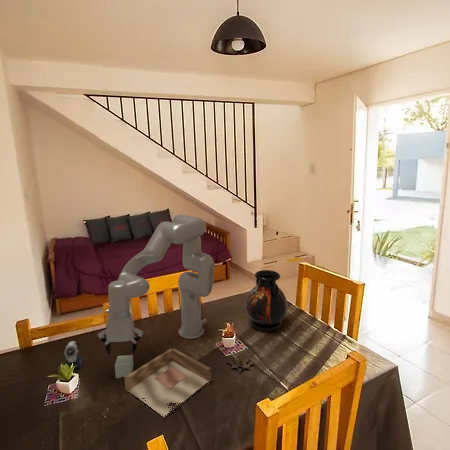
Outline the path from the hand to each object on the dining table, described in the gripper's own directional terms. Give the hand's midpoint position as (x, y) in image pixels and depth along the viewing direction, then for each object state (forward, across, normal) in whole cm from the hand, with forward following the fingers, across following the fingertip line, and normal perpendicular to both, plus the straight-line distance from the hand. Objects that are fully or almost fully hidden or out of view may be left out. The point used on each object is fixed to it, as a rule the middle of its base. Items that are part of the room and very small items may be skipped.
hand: (121, 351), depth 131 cm
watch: (+11, -21, +7) cm, 25 cm away
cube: (+10, +1, +1) cm, 10 cm away
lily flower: (+10, +49, +1) cm, 50 cm away
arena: (+10, +19, -9) cm, 23 cm away
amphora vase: (+8, +67, +32) cm, 75 cm away
